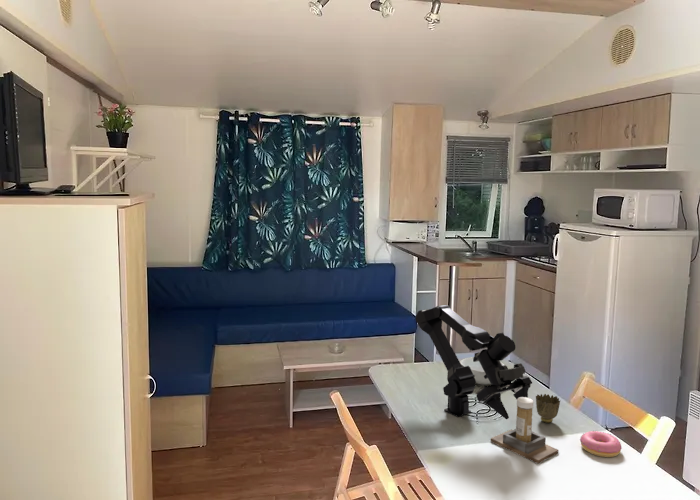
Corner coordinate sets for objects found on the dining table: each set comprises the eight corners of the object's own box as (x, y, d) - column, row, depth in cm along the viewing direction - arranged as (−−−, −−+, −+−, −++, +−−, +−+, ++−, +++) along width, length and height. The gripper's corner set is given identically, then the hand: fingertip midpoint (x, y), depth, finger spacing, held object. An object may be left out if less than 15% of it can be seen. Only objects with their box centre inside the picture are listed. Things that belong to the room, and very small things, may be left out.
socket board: (490, 441, 160) (491, 430, 160) (511, 432, 166) (511, 421, 166) (537, 463, 148) (538, 451, 147) (558, 453, 154) (559, 441, 153)
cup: (560, 427, 170) (562, 403, 169) (536, 425, 172) (537, 401, 171) (556, 417, 177) (558, 394, 176) (533, 415, 179) (534, 392, 178)
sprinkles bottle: (533, 447, 155) (536, 402, 153) (518, 447, 154) (520, 402, 153) (527, 439, 159) (529, 396, 158) (512, 440, 159) (514, 396, 157)
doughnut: (629, 458, 152) (630, 444, 151) (594, 461, 150) (595, 447, 149) (605, 440, 162) (606, 427, 162) (572, 442, 161) (572, 429, 160)
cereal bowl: (452, 382, 208) (453, 365, 207) (469, 370, 222) (470, 354, 221) (495, 392, 198) (496, 374, 198) (510, 379, 212) (511, 362, 211)
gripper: (485, 360, 155) (512, 410, 148) (529, 350, 165) (557, 397, 157) (465, 377, 163) (490, 426, 155) (508, 367, 173) (533, 413, 165)
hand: (518, 415), depth 158 cm, fingers open, 9 cm apart
